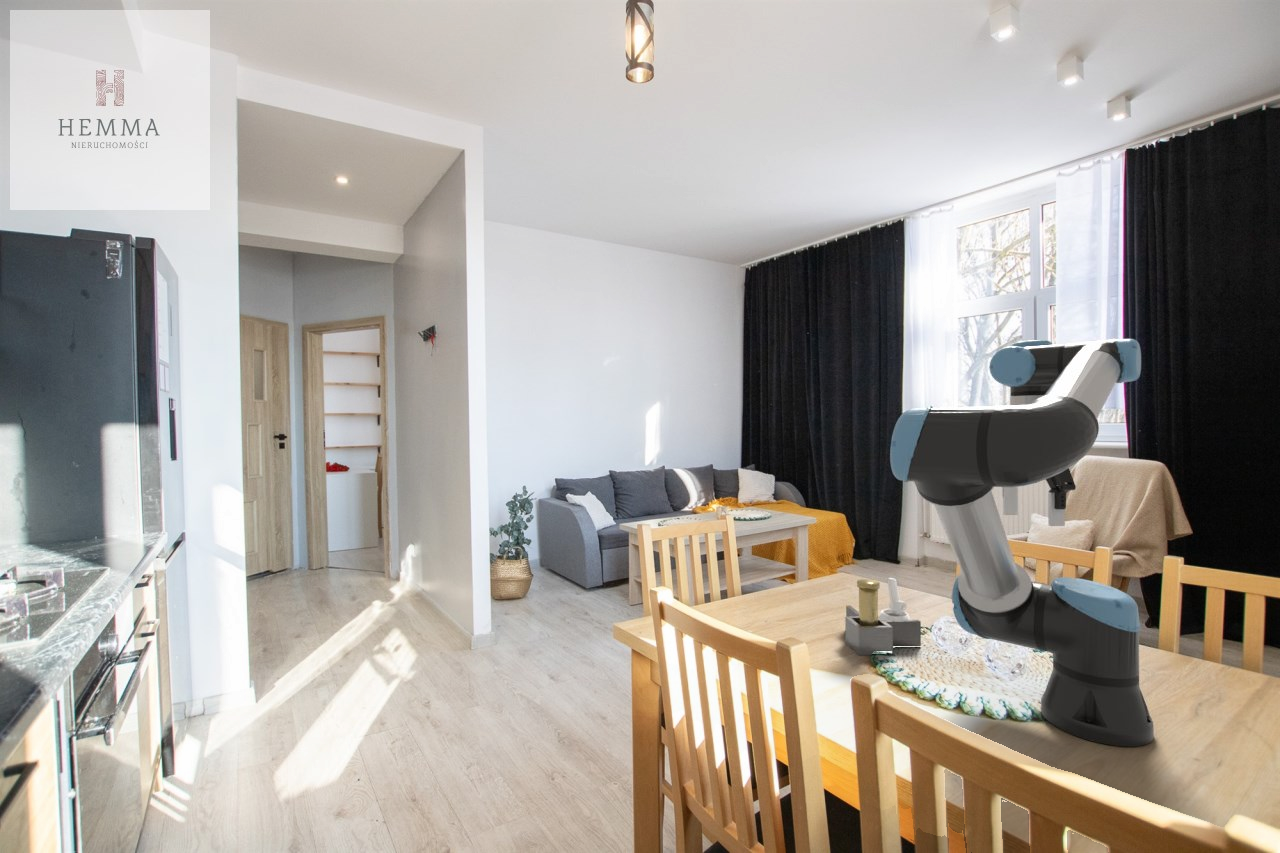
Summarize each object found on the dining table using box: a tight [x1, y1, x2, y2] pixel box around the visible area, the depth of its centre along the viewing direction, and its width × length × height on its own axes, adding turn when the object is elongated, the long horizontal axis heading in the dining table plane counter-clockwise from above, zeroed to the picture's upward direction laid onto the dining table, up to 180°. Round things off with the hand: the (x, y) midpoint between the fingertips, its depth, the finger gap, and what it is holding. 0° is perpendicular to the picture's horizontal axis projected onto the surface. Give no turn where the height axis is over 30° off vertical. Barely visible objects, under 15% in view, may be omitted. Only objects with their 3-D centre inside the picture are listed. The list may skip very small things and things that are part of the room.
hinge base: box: [844, 605, 922, 656], centre depth 139 cm, size 16×16×6 cm
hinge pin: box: [856, 578, 881, 626], centre depth 135 cm, size 5×5×15 cm
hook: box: [878, 577, 912, 621], centre depth 157 cm, size 8×12×7 cm
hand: (1032, 520), depth 123 cm, fingers open, 13 cm apart
